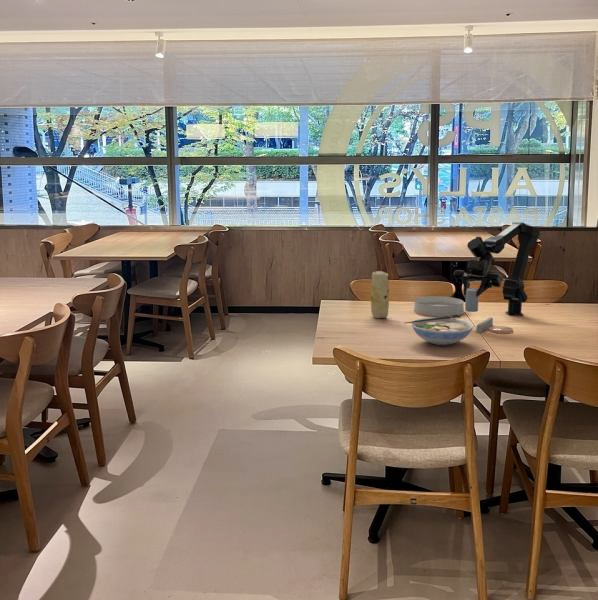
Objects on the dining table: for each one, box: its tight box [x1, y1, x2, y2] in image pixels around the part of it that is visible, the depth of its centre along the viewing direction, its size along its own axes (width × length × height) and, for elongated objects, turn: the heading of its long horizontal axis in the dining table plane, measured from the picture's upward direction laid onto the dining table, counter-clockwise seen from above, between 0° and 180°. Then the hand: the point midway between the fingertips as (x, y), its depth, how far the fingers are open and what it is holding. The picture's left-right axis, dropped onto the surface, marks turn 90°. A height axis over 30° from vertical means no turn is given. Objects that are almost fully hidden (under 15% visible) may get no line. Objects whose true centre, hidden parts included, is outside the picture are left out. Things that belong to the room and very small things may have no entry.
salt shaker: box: [464, 287, 480, 313], centre depth 274 cm, size 5×5×9 cm
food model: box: [370, 270, 390, 319], centre depth 293 cm, size 10×7×20 cm
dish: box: [413, 295, 465, 317], centre depth 305 cm, size 22×22×5 cm
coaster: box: [488, 325, 514, 334], centre depth 269 cm, size 9×9×1 cm
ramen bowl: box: [404, 314, 475, 347], centre depth 250 cm, size 25×23×8 cm
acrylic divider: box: [476, 317, 494, 334], centre depth 272 cm, size 16×1×3 cm, turn 146°
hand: (470, 295), depth 272 cm, fingers closed on salt shaker, 5 cm apart
